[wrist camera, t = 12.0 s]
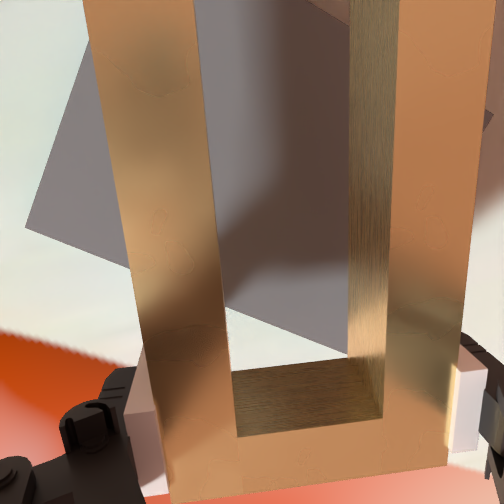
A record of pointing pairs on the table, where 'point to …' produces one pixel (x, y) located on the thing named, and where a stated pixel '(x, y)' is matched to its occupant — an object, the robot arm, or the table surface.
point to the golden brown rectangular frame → (359, 248)
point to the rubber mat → (240, 164)
